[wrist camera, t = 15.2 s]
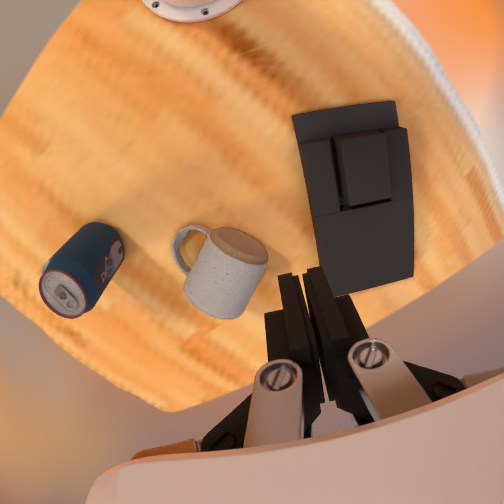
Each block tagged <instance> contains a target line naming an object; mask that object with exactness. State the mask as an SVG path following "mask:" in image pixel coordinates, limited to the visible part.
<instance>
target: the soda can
mask: <svg viewBox="0 0 504 504" xmlns="http://www.w3.org/2000/svg"><path fill="white" fill-rule="evenodd" d="M123 259H124V246H123V242H122V240H121V238H120V236H119V234H118V233H117V232H116V231H115V230H114V229H113V228H112V227H110V226H108V225H106V224H103V223H98V222H93V223H89V224H86V225H84V226H83V227H82V228H81V229H80V230H79V231H78V232H77V233H75V234H74V235H73V236H72V237H71V238H70V239H69V240H68V241H67V242H66V243H65V244H64V245H63V246H62V247H61V248H60V249H59V250H58V251H57V252H56V253H55V254H54V255H53V256H52V257H51V258H50V259H49V260H48V261H47V262H46V264H45V265H44V267H43V270H42V276H41V278H40V280H39V291H40V295H41V297H42V299H43V301H44V303H45V304H46V305H47V306H48V307H49V308H50V309H51V310H52V311H53V312H54V313H56V314H57V315H59V316H61V317H64V318H69V319H74V318H78V317H80V316H81V315H82V314H83V313H86V312H88V311H90V310H91V309H92V308H93V307H94V306H95V304H96V303H97V301H98V299H99V298H100V296H101V295H102V293H103V291H104V290H105V288H106V287H107V285H108V283H109V282H110V280H111V279H112V277H113V276H114V274H115V273H116V271H117V270H118V268H119V267H120V265H121V263H122V261H123Z"/></svg>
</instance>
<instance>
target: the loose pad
mask: <svg viewBox="0 0 504 504" xmlns="http://www.w3.org/2000/svg"><path fill="white" fill-rule="evenodd" d="M331 140H332V146H333V151H334V157H335V163H336V169H337V175H338V182H339V188H340V195H341V197H342V198H343V199H344V200H345V202H346V203H347V204H348V205H349V206H353V205H358V204H363V203H368V202H372V201H377V200H382V199H387V198H392V190H391V178H390V169H389V160H388V151H387V143H386V136H385V133H382V132H378V131H375V130H368V131H361V132H355V133H349V134H342V135H337V136H331Z"/></svg>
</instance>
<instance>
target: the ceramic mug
mask: <svg viewBox="0 0 504 504" xmlns="http://www.w3.org/2000/svg"><path fill="white" fill-rule="evenodd" d="M189 230H197V231H200V232H202V233H203V234H205V235H206V236H207V238H206V240H205V242H204V244H203V246H202V248H201V250H200V252H199V254H198V256H197V258H196V260H195V262H194V264H193V266H192V268H190V267H189V266H188V265H187V264H186V263H185V261H184V260H183V258H182V256H181V253H180V245H181V243H182V241H183V239H184V237H185V236H186V235H188V233H189ZM171 250H172V255H173V258H174V260H175V262H176V264H177V266H178V267H179V268H180V270H181V271H182V272H183V273H184V274H185V275H186V276H187V278H186V280H185V282H184V286H183V290H184V293H185V295H186V297H187V298H188V300H189V301H190V302H191V303H192V304H193V305H194V306H195V307H196V308H198V309H199V310H200V311H202V312H204V313H206V314H208V315H210V316H212V317H215V318H219V319H226V320H231V319H236V318H238V317H239V316H241V315H242V314H243V312H244V310H245V308H246V306H247V304H248V302H249V300H250V299H251V296H252V295H253V293H254V291H255V289H256V286H257V284H258V283H259V281H260V279H261V277H262V275H263V273H264V271H265V268H266V265H267V262H268V253H267V251H266V249H265V248H264V246H263V245H262V244H261V243H259V242H258V241H257V240H256V239H254V238H253V237H251V236H249V235H247V234H246V233H243V232H241V231H239V230H236V229H232V228H227V227H221V228H217V229H214V230H213V231H212V230H210V229H209V228H207V227H205V226H202V225H196V224H194V225H189V226H186V227H184V228H182V229H181V230H179V232H177V234H176V235H175V237H174V239H173V242H172V247H171Z"/></svg>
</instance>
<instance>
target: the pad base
mask: <svg viewBox="0 0 504 504" xmlns="http://www.w3.org/2000/svg"><path fill="white" fill-rule="evenodd" d="M292 120H293V124H294V129H295V133H296V138H297V143H298V148H299V152H300V157H301V162H302V167H303V172H304V177H305V182H306V188H307V193H308V198H309V204H310V209H311V215H312V221H313V227H314V233H315V239H316V245H317V251H318V257H319V264H320V266H321V267H322V269H323V271H324V274H325V276H326V279H327V281H328V283H329V286H330V288H331V291H332V293H333V296H334V297H337V296H341V295H345V294H349V293H353V292H357V291H361V290H365V289H369V288H373V287H377V286H381V285H384V284H388V283H392V282H396V281H399V280H403V279H407V278H410V277H413V274H414V211H413V191H412V176H411V163H410V153H409V144H408V135H407V129H406V128H402V127H399V124H398V117H397V111H396V105H395V101H385V102H376V103H367V104H359V105H352V106H345V107H338V108H331V109H325V110H319V111H313V112H307V113H302V114H296V115H292ZM368 130H375V131H378V132H382V133H385V136H386V143H387V151H388V160H389V169H390V178H391V190H392V198H387V199H382V200H377V201H372V202H368V203H363V204H358V205H353V206H349V205H348V204H347V203H346V202H345V200H344V199H343V198H342V197H341V195H340V188H339V182H338V175H337V169H336V163H335V157H334V151H333V146H332V140H331V136H337V135H342V134H349V133H355V132H361V131H368Z"/></svg>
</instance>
